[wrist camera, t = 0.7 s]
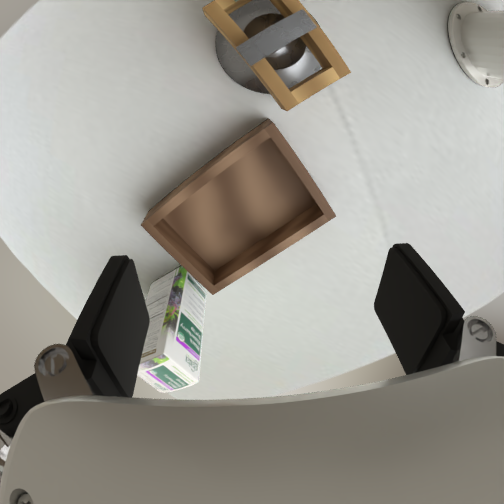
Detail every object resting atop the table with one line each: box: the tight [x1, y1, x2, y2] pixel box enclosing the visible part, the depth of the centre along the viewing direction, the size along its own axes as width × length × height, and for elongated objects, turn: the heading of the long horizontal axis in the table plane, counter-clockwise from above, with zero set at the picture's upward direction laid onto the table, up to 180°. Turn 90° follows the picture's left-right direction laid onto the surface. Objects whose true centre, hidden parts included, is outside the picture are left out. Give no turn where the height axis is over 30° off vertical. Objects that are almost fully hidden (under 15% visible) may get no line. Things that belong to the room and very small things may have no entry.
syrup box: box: [137, 266, 207, 393], centre depth 33 cm, size 6×6×14 cm
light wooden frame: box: [202, 0, 351, 111], centre depth 20 cm, size 7×12×4 cm, turn 36°
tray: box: [141, 119, 336, 295], centre depth 32 cm, size 17×12×4 cm
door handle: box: [216, 0, 321, 94], centre depth 21 cm, size 11×11×7 cm
